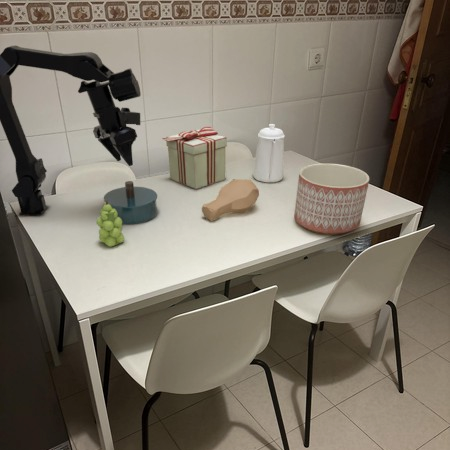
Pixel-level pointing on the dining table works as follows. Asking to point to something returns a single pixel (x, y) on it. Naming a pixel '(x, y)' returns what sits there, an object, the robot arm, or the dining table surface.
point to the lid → (130, 196)
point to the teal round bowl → (137, 214)
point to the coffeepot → (269, 155)
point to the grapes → (110, 226)
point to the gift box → (197, 157)
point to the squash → (232, 199)
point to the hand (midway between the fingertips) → (125, 163)
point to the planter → (330, 198)
